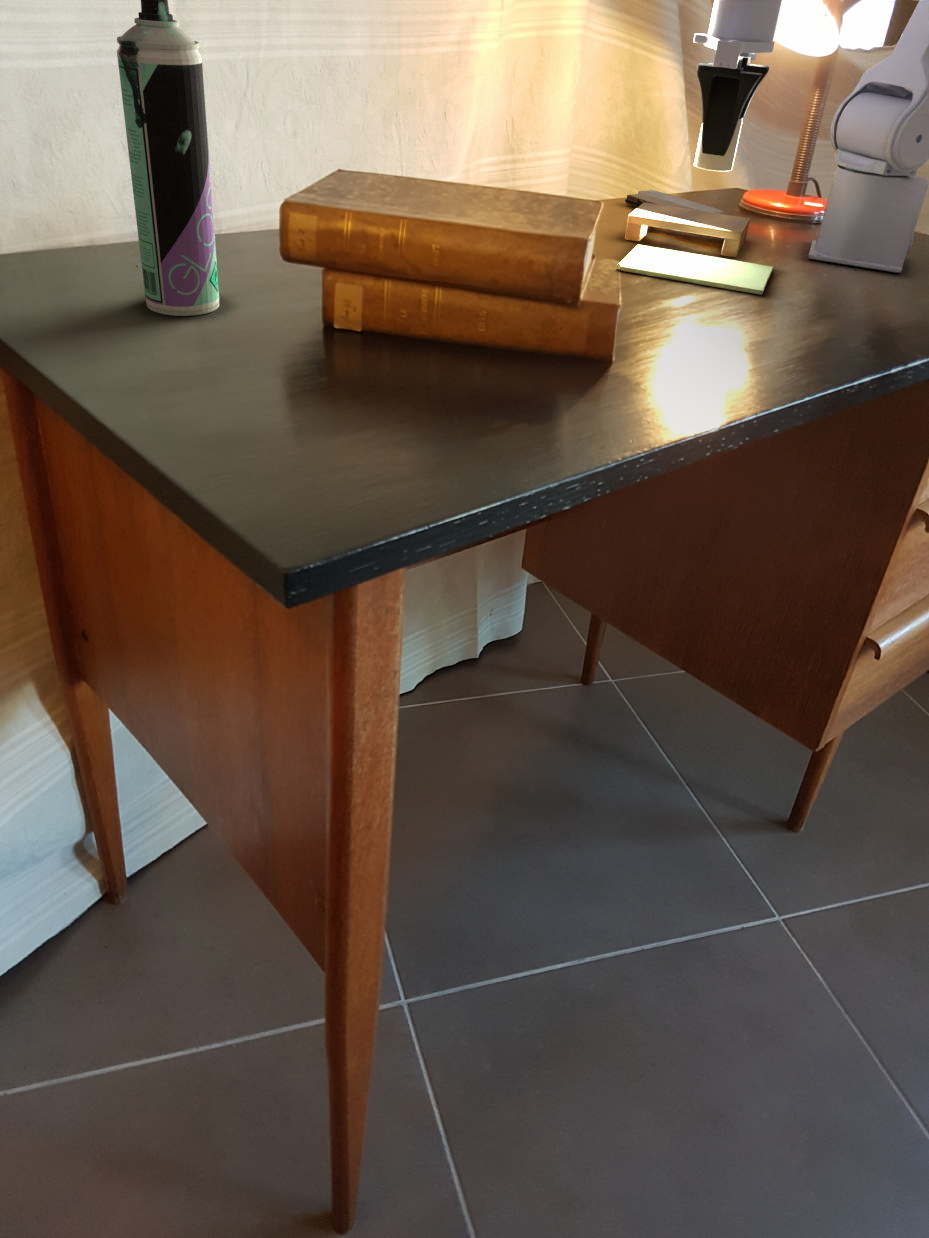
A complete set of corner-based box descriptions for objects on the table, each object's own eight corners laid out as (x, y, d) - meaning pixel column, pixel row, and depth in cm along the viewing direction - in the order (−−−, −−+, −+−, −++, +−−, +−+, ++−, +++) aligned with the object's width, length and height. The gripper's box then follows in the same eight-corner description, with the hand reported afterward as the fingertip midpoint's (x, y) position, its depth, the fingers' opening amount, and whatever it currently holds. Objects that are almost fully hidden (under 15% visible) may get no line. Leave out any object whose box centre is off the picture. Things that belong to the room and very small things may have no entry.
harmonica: (624, 205, 117) (626, 188, 116) (641, 204, 119) (644, 186, 118) (713, 233, 108) (717, 215, 107) (731, 231, 110) (735, 213, 109)
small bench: (745, 242, 106) (750, 218, 104) (736, 257, 100) (741, 232, 98) (639, 225, 109) (643, 202, 107) (624, 239, 103) (628, 215, 101)
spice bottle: (734, 167, 92) (751, 87, 88) (729, 173, 89) (747, 90, 85) (697, 162, 93) (712, 83, 89) (691, 167, 90) (707, 86, 86)
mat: (772, 270, 96) (773, 266, 96) (761, 295, 88) (763, 290, 88) (636, 248, 100) (637, 244, 100) (615, 269, 92) (616, 265, 92)
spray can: (201, 320, 71) (175, 1, 60) (133, 310, 72) (93, -7, 60) (230, 299, 75) (211, 0, 64) (166, 290, 76) (135, -8, 65)
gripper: (718, -24, 89) (687, 137, 97) (692, -27, 78) (660, 155, 85) (794, -17, 87) (757, 146, 95) (780, -19, 76) (739, 166, 84)
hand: (716, 151), depth 90 cm, fingers closed on spice bottle, 3 cm apart
